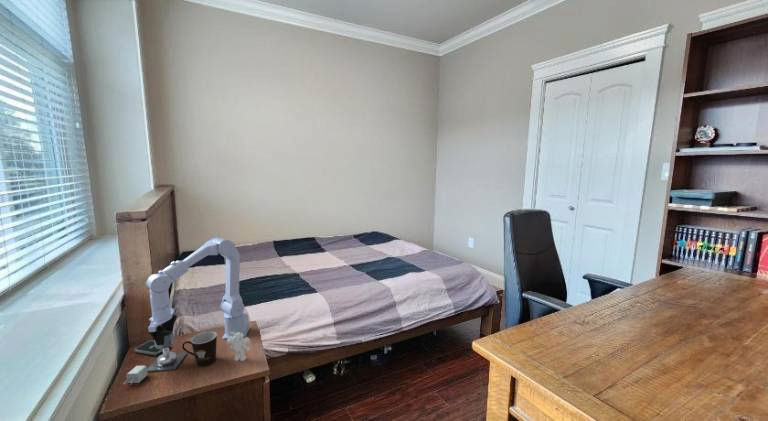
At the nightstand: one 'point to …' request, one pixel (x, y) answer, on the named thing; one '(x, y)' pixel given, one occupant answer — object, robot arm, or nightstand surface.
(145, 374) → the usb wall charger
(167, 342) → the ring
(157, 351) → the external hard drive
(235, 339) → the hat wearing toy figure
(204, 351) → the coffee mug
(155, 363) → the silver sculpture on base
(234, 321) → the robot arm
